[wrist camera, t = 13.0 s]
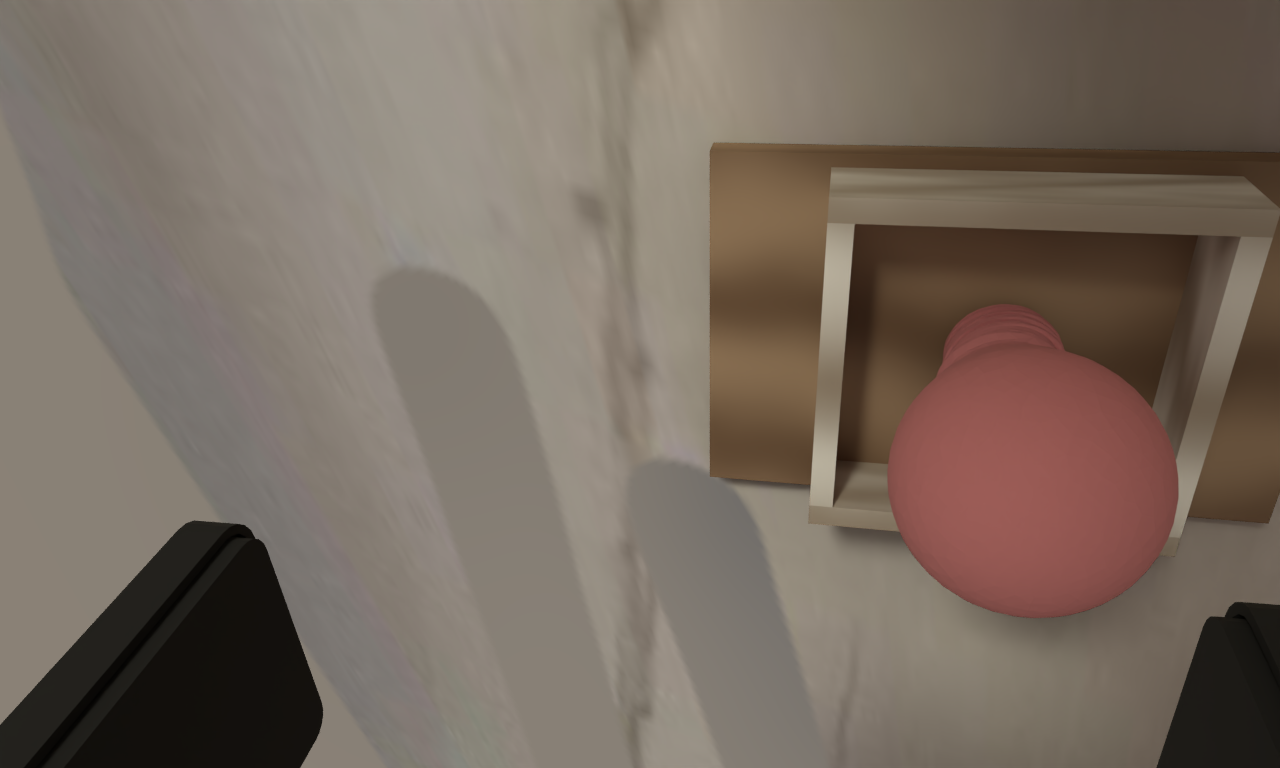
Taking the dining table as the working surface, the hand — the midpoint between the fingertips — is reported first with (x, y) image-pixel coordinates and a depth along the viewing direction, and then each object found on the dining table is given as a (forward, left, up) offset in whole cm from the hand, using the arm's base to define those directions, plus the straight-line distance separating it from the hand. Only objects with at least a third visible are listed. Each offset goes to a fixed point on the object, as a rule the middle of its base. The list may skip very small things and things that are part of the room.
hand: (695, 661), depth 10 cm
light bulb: (+8, +7, -24) cm, 26 cm away
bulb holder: (+8, +7, -25) cm, 27 cm away
